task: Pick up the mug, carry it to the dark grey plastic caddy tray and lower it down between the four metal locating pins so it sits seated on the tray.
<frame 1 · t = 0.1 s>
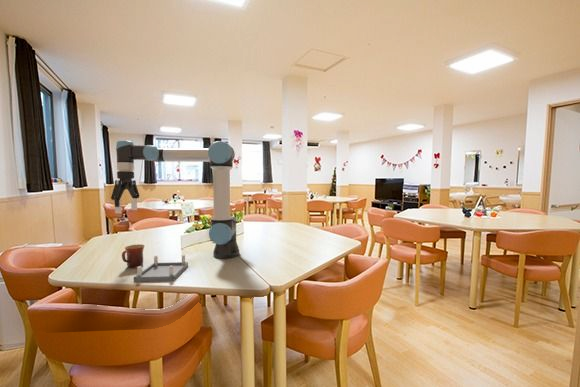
hand: (126, 211, 137), 28 cm above the table, fingers open, 13 cm apart
mug: (132, 267, 133), on the table
tray: (163, 273, 125), on the table
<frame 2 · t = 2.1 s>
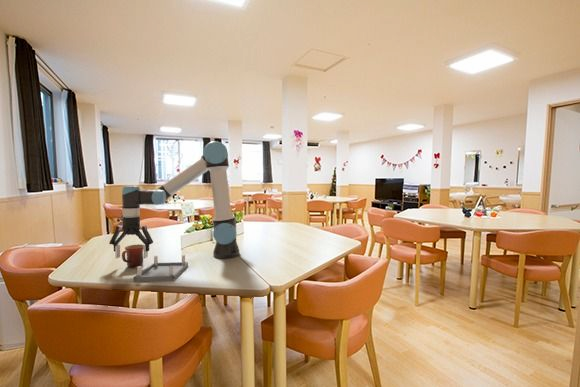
hand: (131, 257, 133), 5 cm above the table, fingers open, 13 cm apart
nothing on the table moved.
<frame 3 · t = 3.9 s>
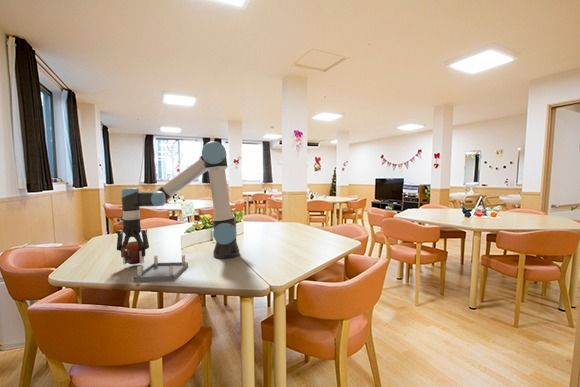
hand: (133, 263, 133), 2 cm above the table, fingers closed on mug, 7 cm apart
mug: (133, 264, 133), point 2 cm above the table, touching gripper
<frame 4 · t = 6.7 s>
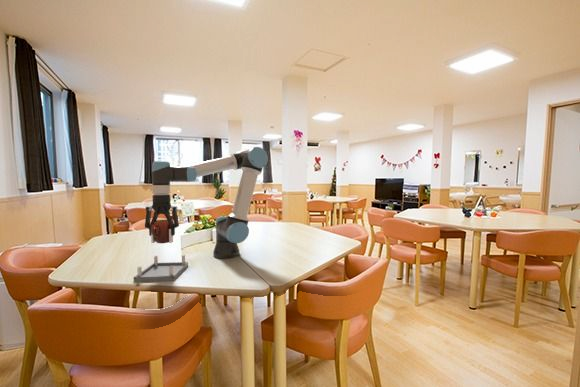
hand: (162, 242, 124), 15 cm above the table, fingers closed on mug, 7 cm apart
mug: (161, 243, 124), point 14 cm above the table, touching gripper
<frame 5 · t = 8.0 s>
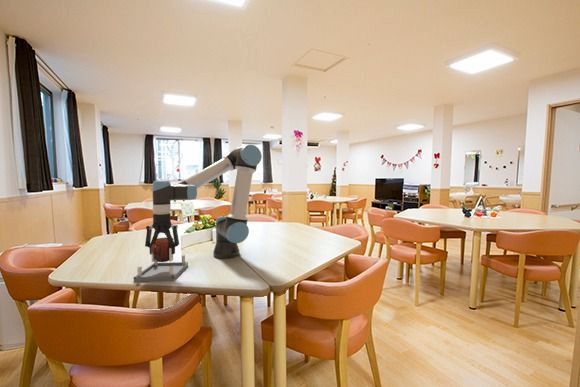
hand: (162, 260, 124), 6 cm above the table, fingers closed on mug, 7 cm apart
mug: (161, 261, 124), point 5 cm above the table, touching gripper
when the fingers open (2 cm above the table, at t = 9.2 s): mug drops 1 cm, resting on tray.
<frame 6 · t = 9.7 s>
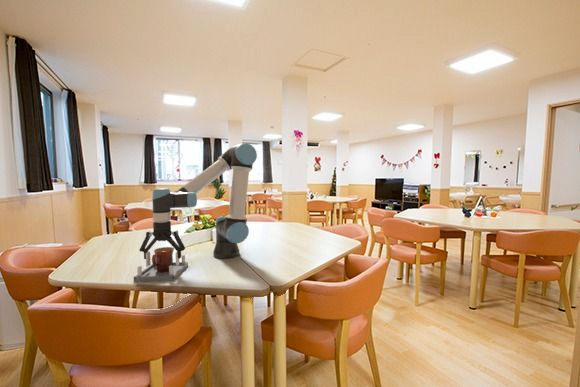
hand: (163, 265, 125), 4 cm above the table, fingers open, 13 cm apart
mug: (162, 271, 125), point 1 cm above the table, touching tray
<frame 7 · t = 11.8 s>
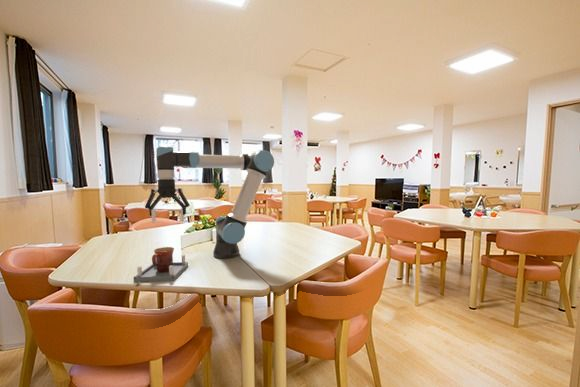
hand: (168, 221, 129), 24 cm above the table, fingers open, 13 cm apart
nothing on the table moved.
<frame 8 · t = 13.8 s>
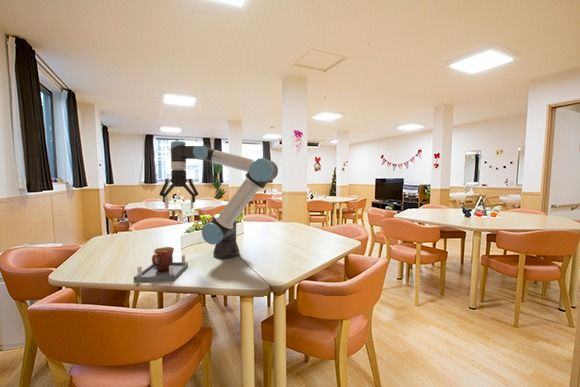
hand: (179, 208, 144), 29 cm above the table, fingers open, 13 cm apart
nothing on the table moved.
at the end: mug inside the target area on the tray (0.4 cm from its centre), point 0.6 cm above the tray's base; mug tilted 0°; the gripper is holding nothing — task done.
